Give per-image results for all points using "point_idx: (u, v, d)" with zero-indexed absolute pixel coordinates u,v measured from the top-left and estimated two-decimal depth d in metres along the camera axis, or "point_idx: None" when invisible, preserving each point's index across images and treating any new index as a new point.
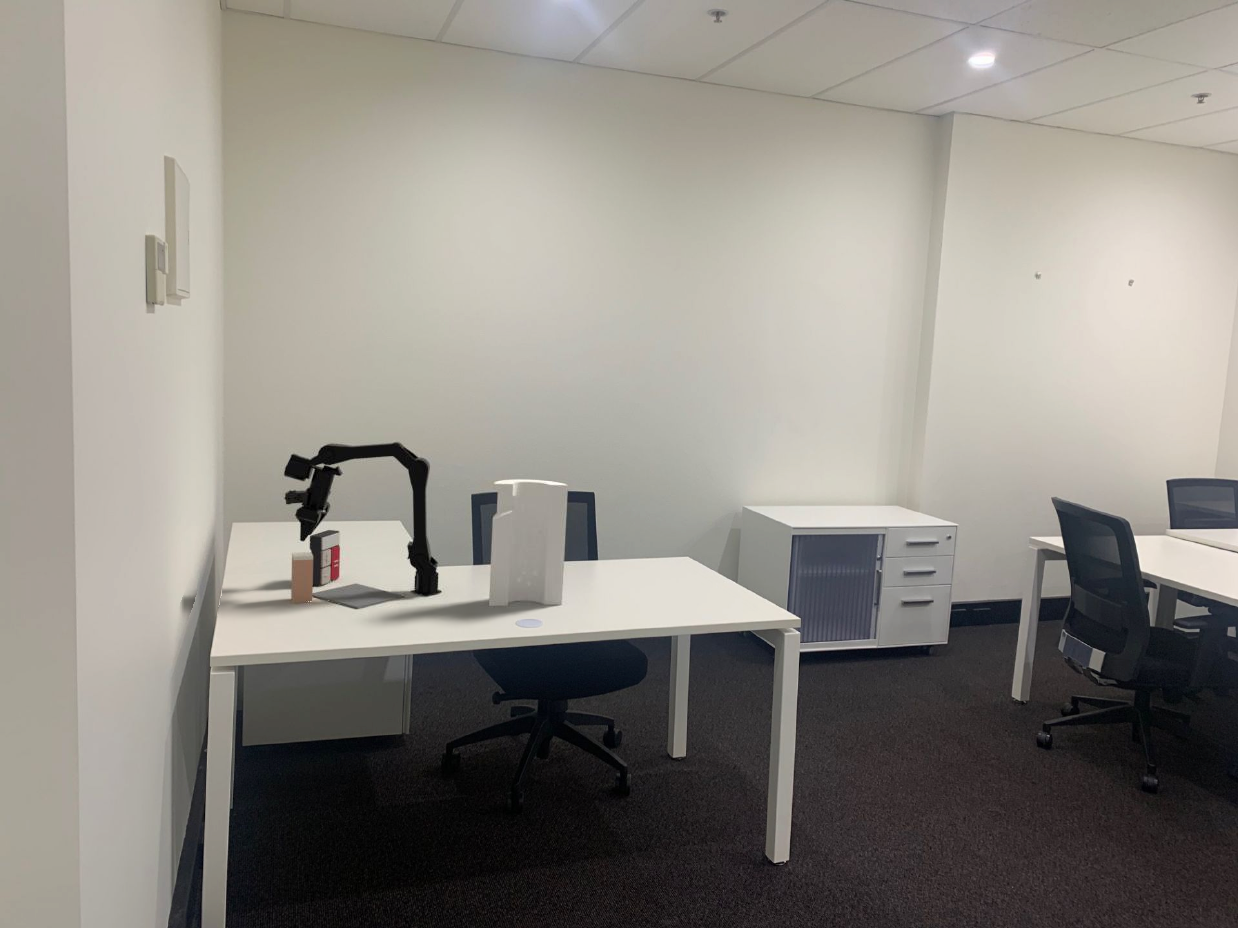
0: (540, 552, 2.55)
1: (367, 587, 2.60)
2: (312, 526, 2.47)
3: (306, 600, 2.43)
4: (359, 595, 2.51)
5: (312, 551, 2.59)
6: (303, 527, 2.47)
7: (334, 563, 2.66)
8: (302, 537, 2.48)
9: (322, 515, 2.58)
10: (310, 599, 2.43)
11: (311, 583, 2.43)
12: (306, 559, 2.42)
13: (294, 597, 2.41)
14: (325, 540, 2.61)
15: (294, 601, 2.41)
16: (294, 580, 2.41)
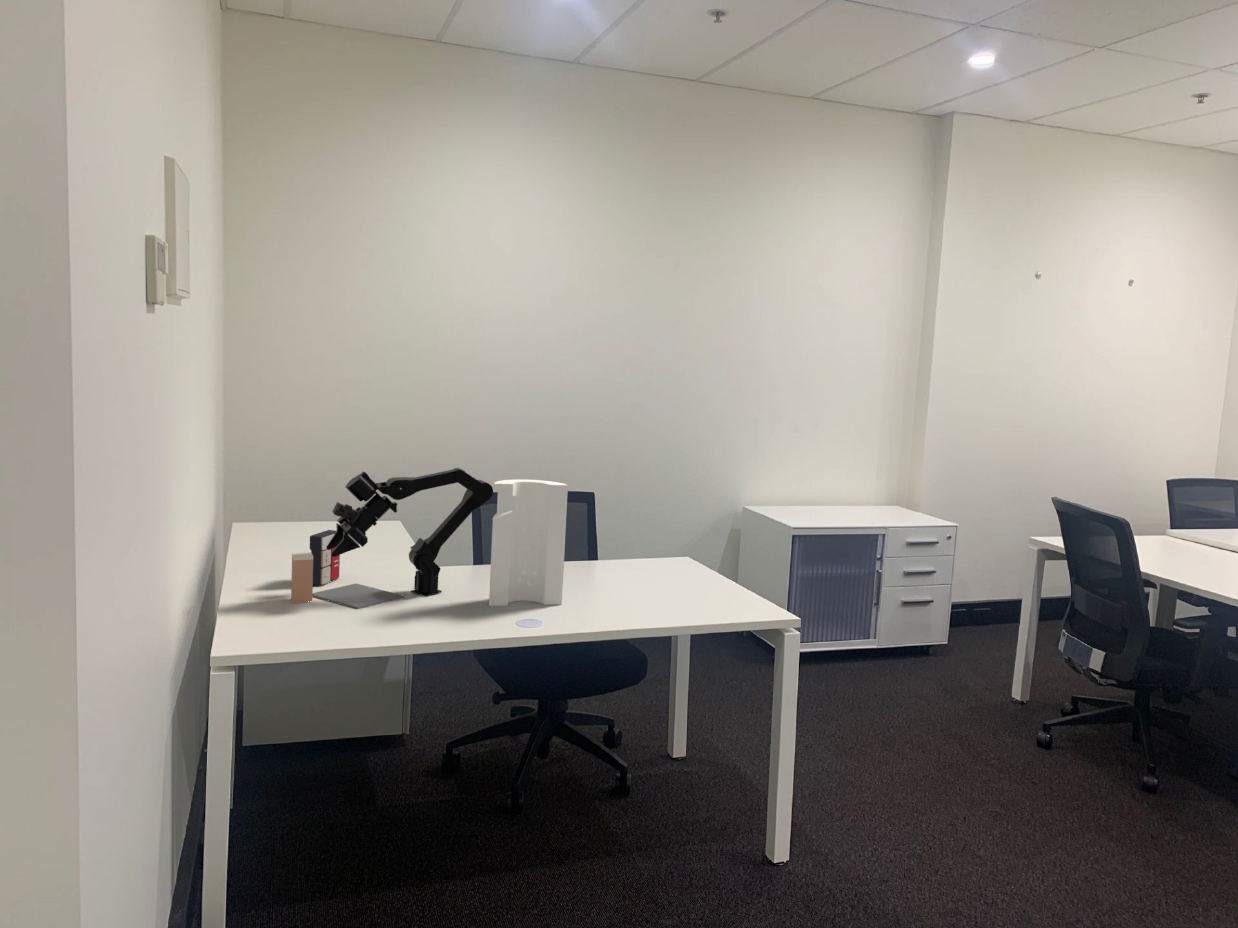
0: (540, 552, 2.55)
1: (367, 587, 2.60)
2: (352, 547, 2.43)
3: (306, 600, 2.43)
4: (359, 595, 2.51)
5: (312, 551, 2.59)
6: (342, 544, 2.42)
7: (334, 563, 2.66)
8: (335, 553, 2.42)
9: None
10: (310, 599, 2.43)
11: (311, 583, 2.43)
12: (306, 559, 2.42)
13: (294, 597, 2.41)
14: (325, 540, 2.61)
15: (294, 601, 2.41)
16: (294, 580, 2.41)
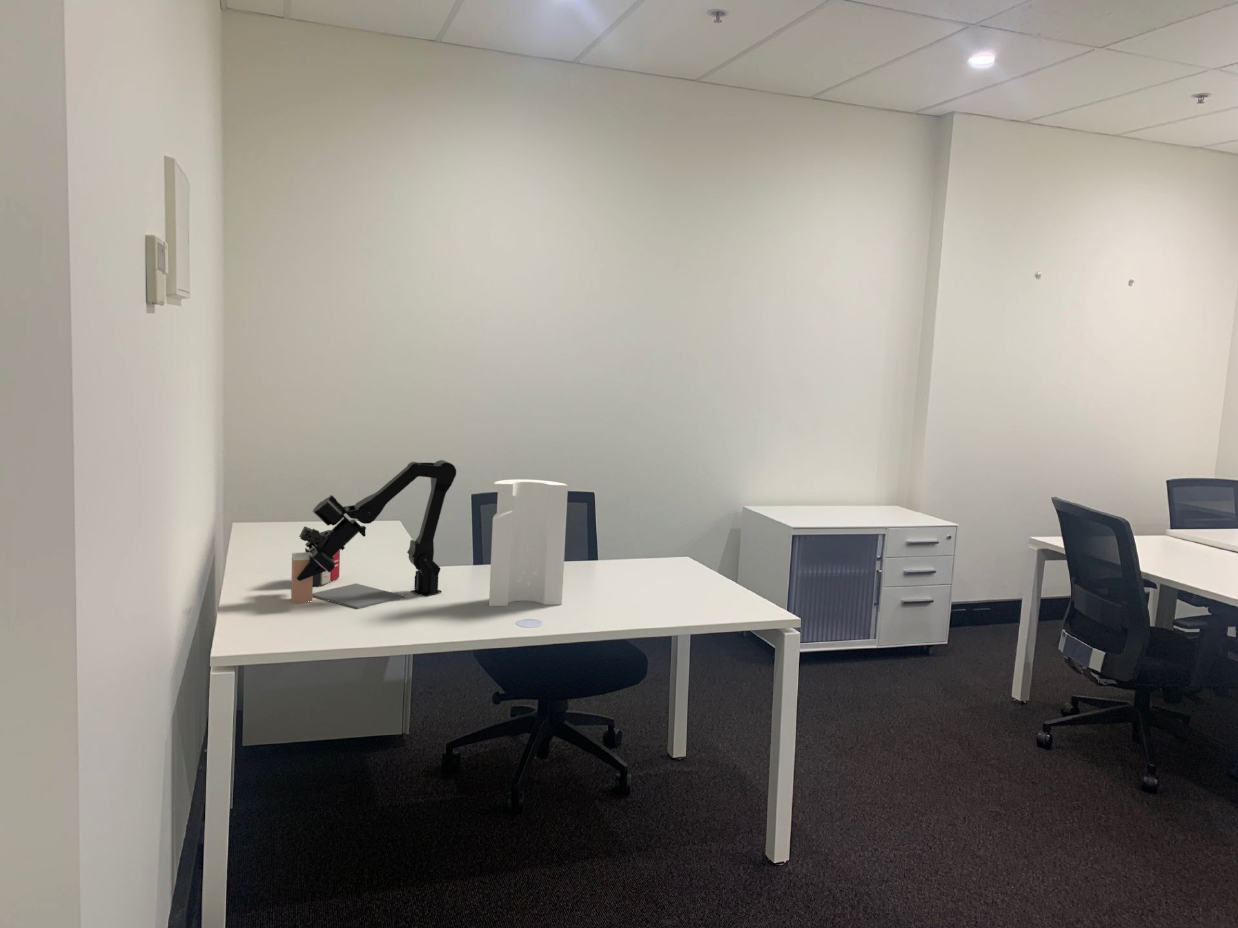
0: (540, 552, 2.55)
1: (367, 587, 2.60)
2: (318, 571, 2.41)
3: (306, 600, 2.43)
4: (359, 595, 2.51)
5: None
6: (308, 568, 2.40)
7: None
8: (301, 576, 2.41)
9: None
10: (310, 599, 2.43)
11: (311, 583, 2.43)
12: (306, 559, 2.41)
13: (294, 597, 2.41)
14: None
15: (294, 601, 2.41)
16: (294, 580, 2.41)
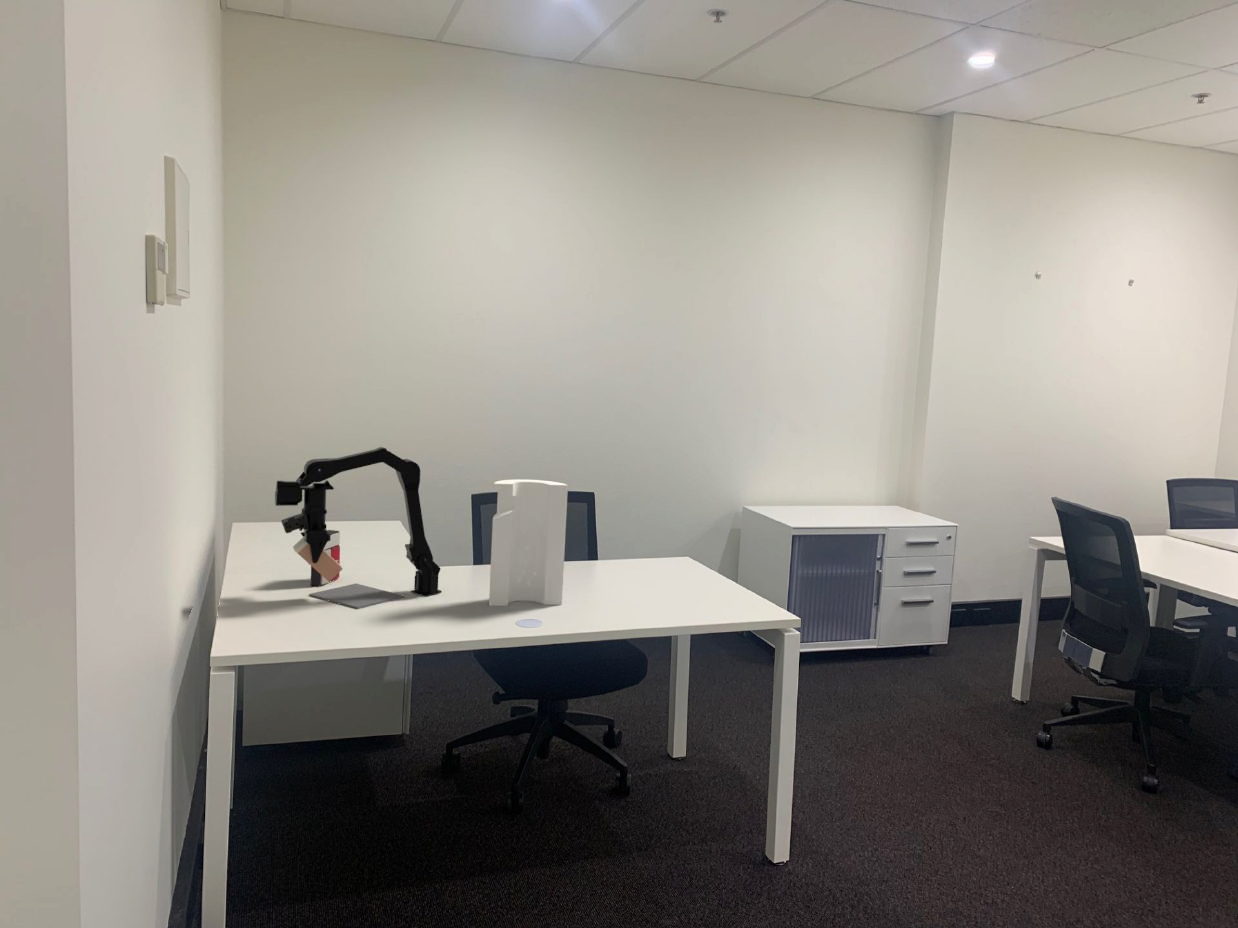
0: (540, 552, 2.55)
1: (367, 587, 2.60)
2: (323, 545, 2.41)
3: (337, 571, 2.46)
4: (359, 595, 2.51)
5: None
6: (313, 549, 2.41)
7: None
8: (314, 559, 2.42)
9: None
10: (339, 568, 2.46)
11: (328, 557, 2.44)
12: (306, 544, 2.41)
13: (326, 577, 2.44)
14: None
15: (328, 579, 2.45)
16: (313, 566, 2.43)
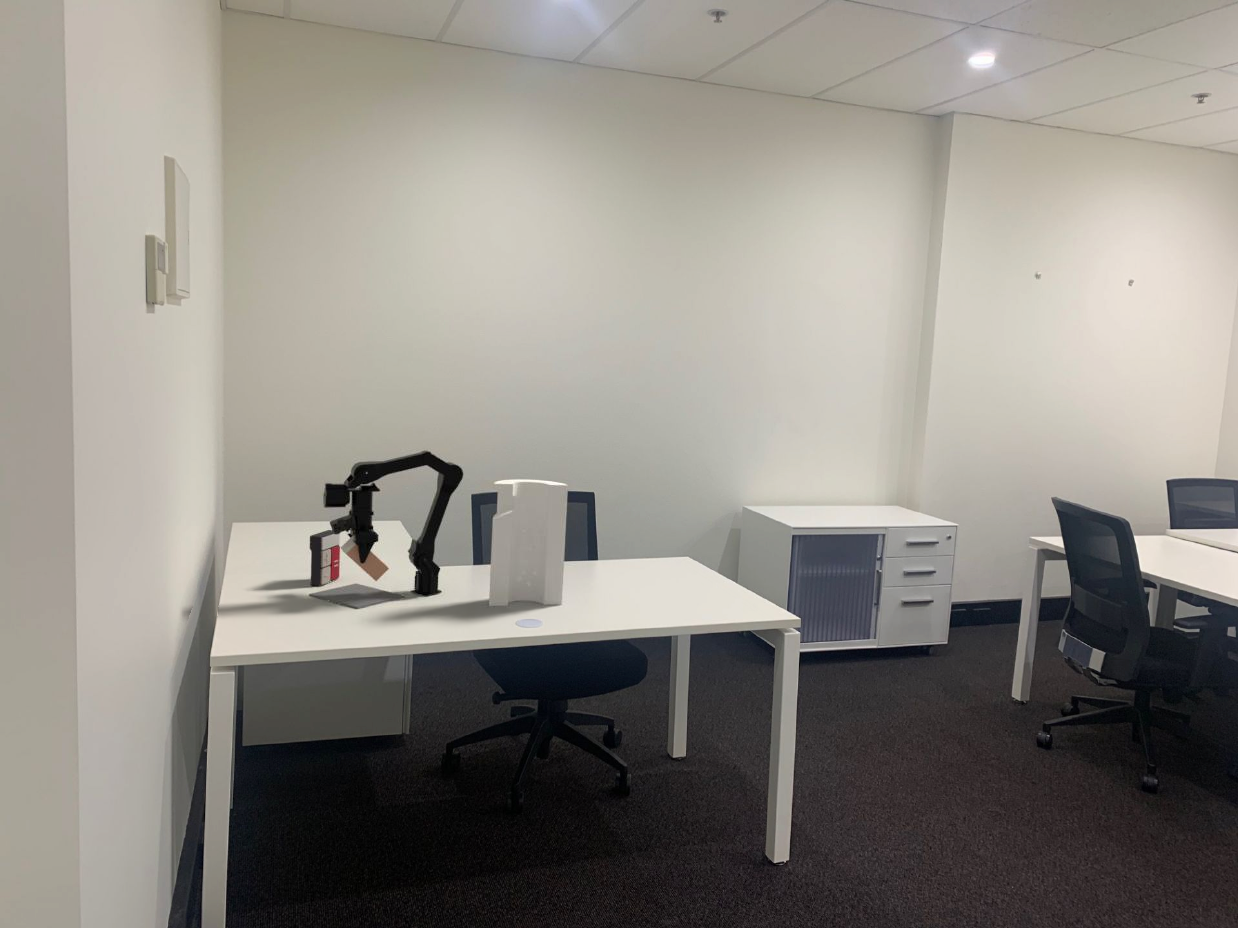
0: (540, 552, 2.55)
1: (367, 587, 2.60)
2: (370, 546, 2.47)
3: (383, 571, 2.52)
4: (359, 595, 2.51)
5: (312, 551, 2.59)
6: (361, 549, 2.47)
7: (334, 563, 2.66)
8: (362, 559, 2.48)
9: None
10: (385, 568, 2.52)
11: (375, 557, 2.50)
12: (354, 545, 2.47)
13: (373, 577, 2.51)
14: (325, 540, 2.61)
15: (375, 579, 2.51)
16: (360, 566, 2.49)
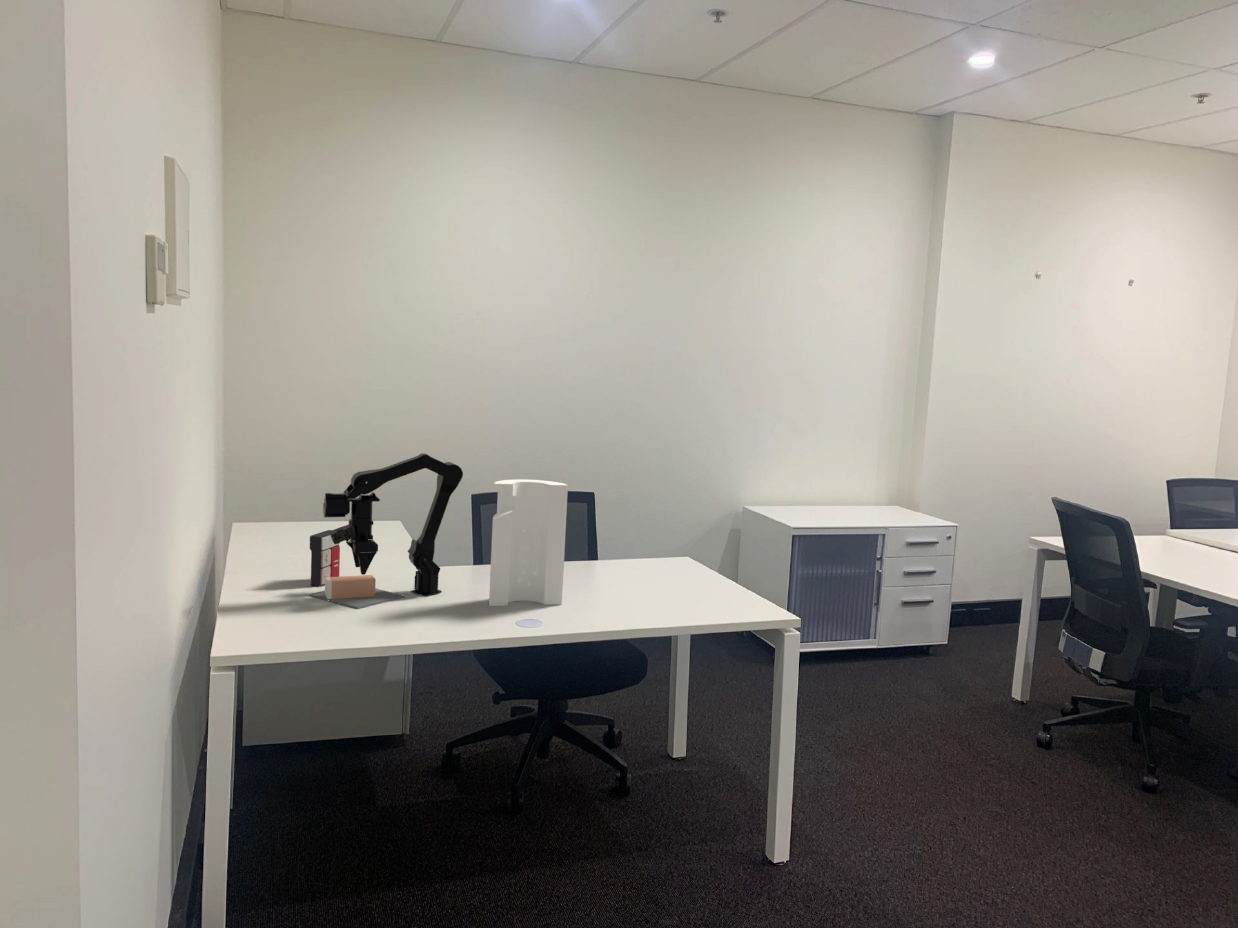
0: (540, 552, 2.55)
1: None
2: (371, 557, 2.46)
3: (373, 584, 2.51)
4: None
5: (312, 551, 2.59)
6: (362, 561, 2.45)
7: (334, 563, 2.66)
8: (363, 570, 2.46)
9: None
10: (372, 580, 2.50)
11: (356, 581, 2.48)
12: (331, 587, 2.45)
13: (369, 595, 2.50)
14: (325, 540, 2.61)
15: (373, 595, 2.51)
16: (352, 596, 2.48)
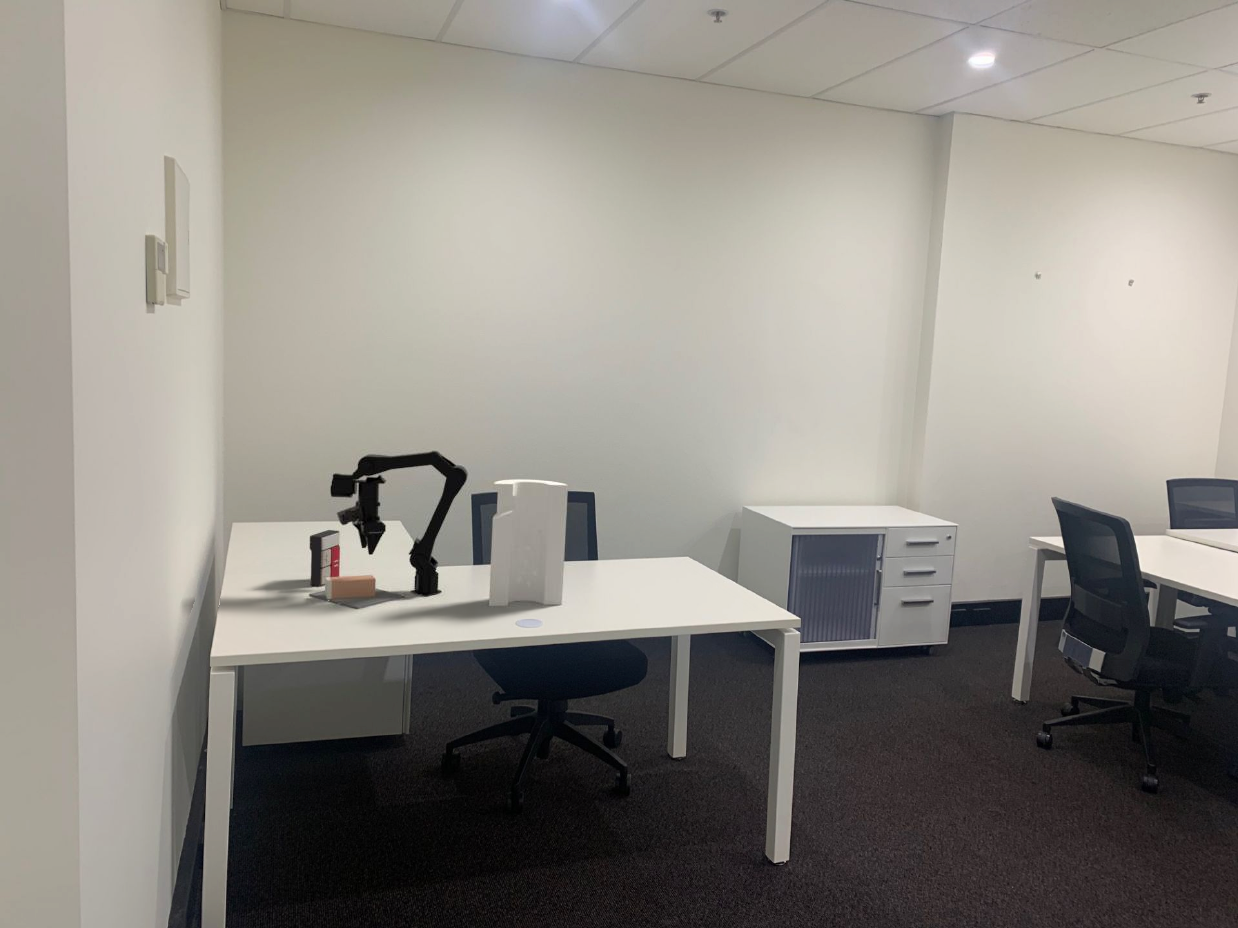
0: (540, 552, 2.55)
1: None
2: (379, 537, 2.51)
3: (373, 584, 2.51)
4: None
5: (312, 551, 2.59)
6: (370, 541, 2.51)
7: (334, 563, 2.66)
8: (370, 551, 2.52)
9: None
10: (372, 580, 2.50)
11: (356, 581, 2.48)
12: (331, 587, 2.45)
13: (369, 595, 2.50)
14: (325, 540, 2.61)
15: (373, 595, 2.51)
16: (352, 596, 2.48)
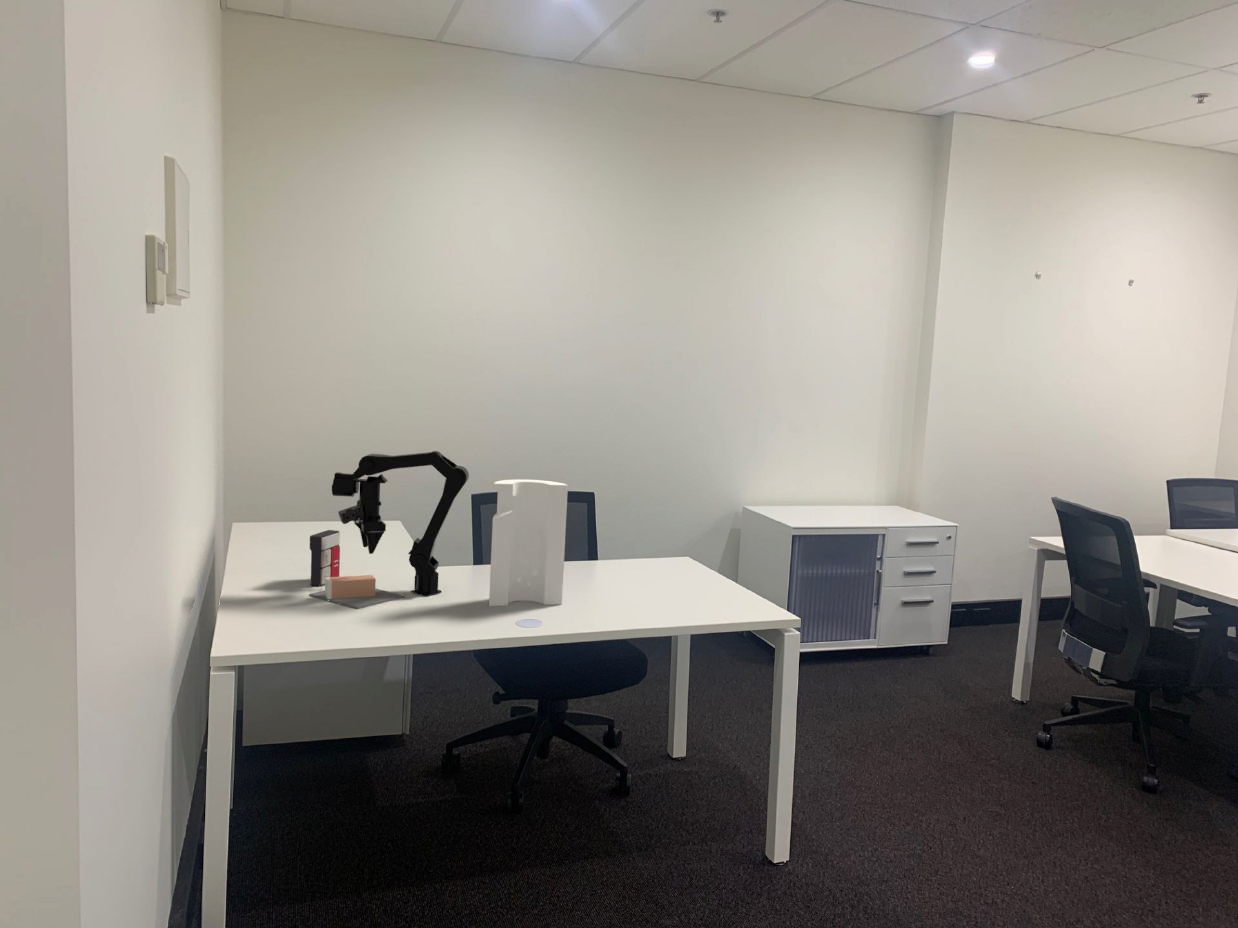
0: (540, 552, 2.55)
1: None
2: (379, 536, 2.52)
3: (373, 584, 2.51)
4: None
5: (312, 551, 2.59)
6: (370, 540, 2.52)
7: (334, 563, 2.66)
8: (371, 550, 2.53)
9: None
10: (372, 580, 2.50)
11: (356, 581, 2.48)
12: (331, 587, 2.45)
13: (369, 595, 2.50)
14: (325, 540, 2.61)
15: (373, 595, 2.51)
16: (352, 596, 2.48)
